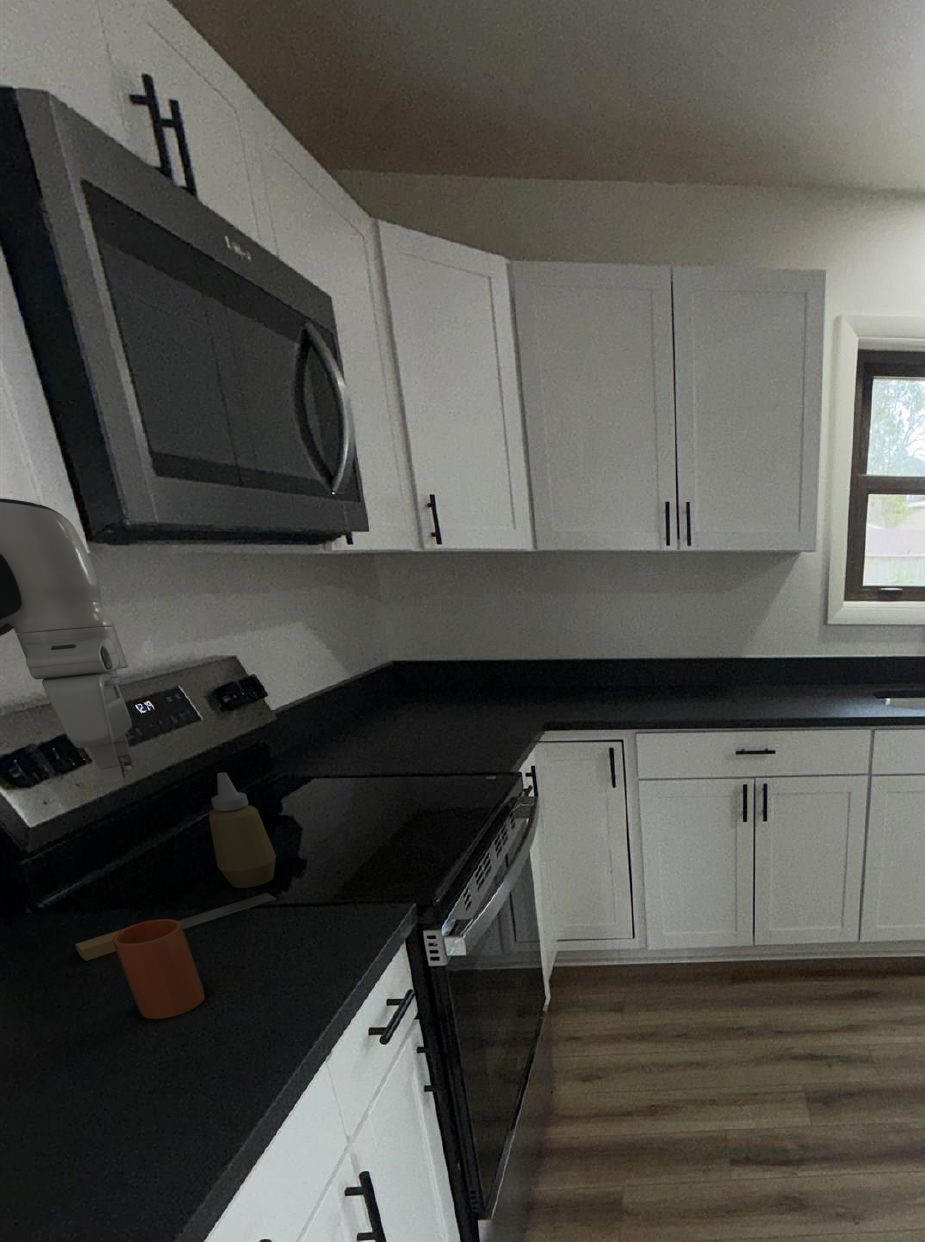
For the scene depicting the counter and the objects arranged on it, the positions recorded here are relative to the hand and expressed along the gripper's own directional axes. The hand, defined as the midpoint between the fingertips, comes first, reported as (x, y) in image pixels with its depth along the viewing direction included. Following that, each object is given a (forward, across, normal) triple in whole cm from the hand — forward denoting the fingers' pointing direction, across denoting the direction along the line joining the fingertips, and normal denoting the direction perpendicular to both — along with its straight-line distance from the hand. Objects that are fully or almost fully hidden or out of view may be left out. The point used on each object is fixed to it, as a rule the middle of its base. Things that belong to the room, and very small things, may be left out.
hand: (121, 776), depth 95 cm
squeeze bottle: (+23, -25, +8) cm, 35 cm away
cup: (+26, +12, -2) cm, 29 cm away
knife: (+24, -12, -1) cm, 26 cm away
